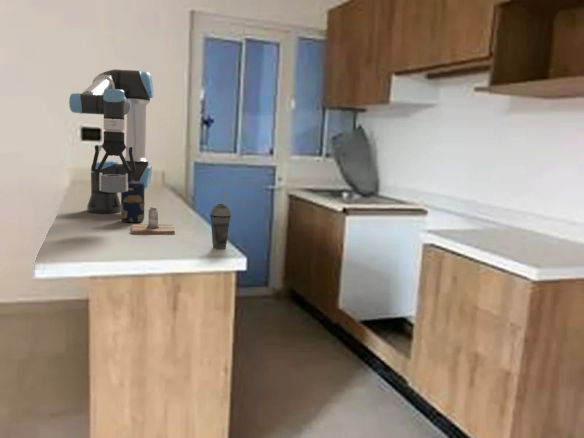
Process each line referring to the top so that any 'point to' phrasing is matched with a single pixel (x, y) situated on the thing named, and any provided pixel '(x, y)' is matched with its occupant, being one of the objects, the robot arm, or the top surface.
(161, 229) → the post block
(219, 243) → the beverage cup
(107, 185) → the ring
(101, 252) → the top surface
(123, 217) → the canister
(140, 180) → the robot arm
